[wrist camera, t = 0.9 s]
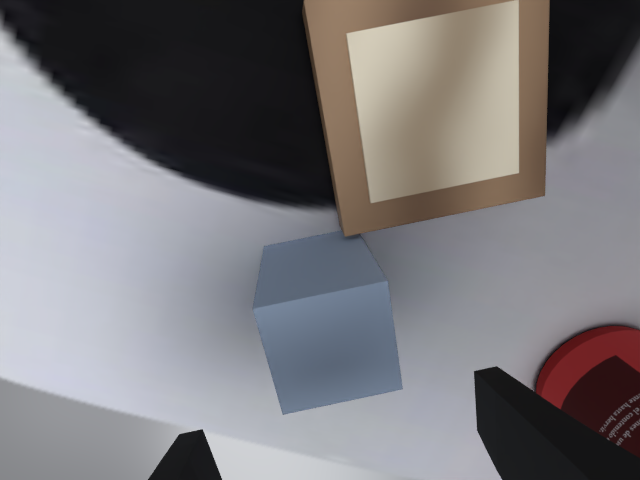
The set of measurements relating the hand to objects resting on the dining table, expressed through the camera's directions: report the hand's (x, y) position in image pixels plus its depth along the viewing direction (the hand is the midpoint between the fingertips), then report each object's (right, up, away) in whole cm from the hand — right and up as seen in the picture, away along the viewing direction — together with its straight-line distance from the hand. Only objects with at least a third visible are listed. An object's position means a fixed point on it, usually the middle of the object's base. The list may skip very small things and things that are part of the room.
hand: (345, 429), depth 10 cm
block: (-1, +3, +9) cm, 9 cm away
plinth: (+4, +11, +6) cm, 13 cm away
